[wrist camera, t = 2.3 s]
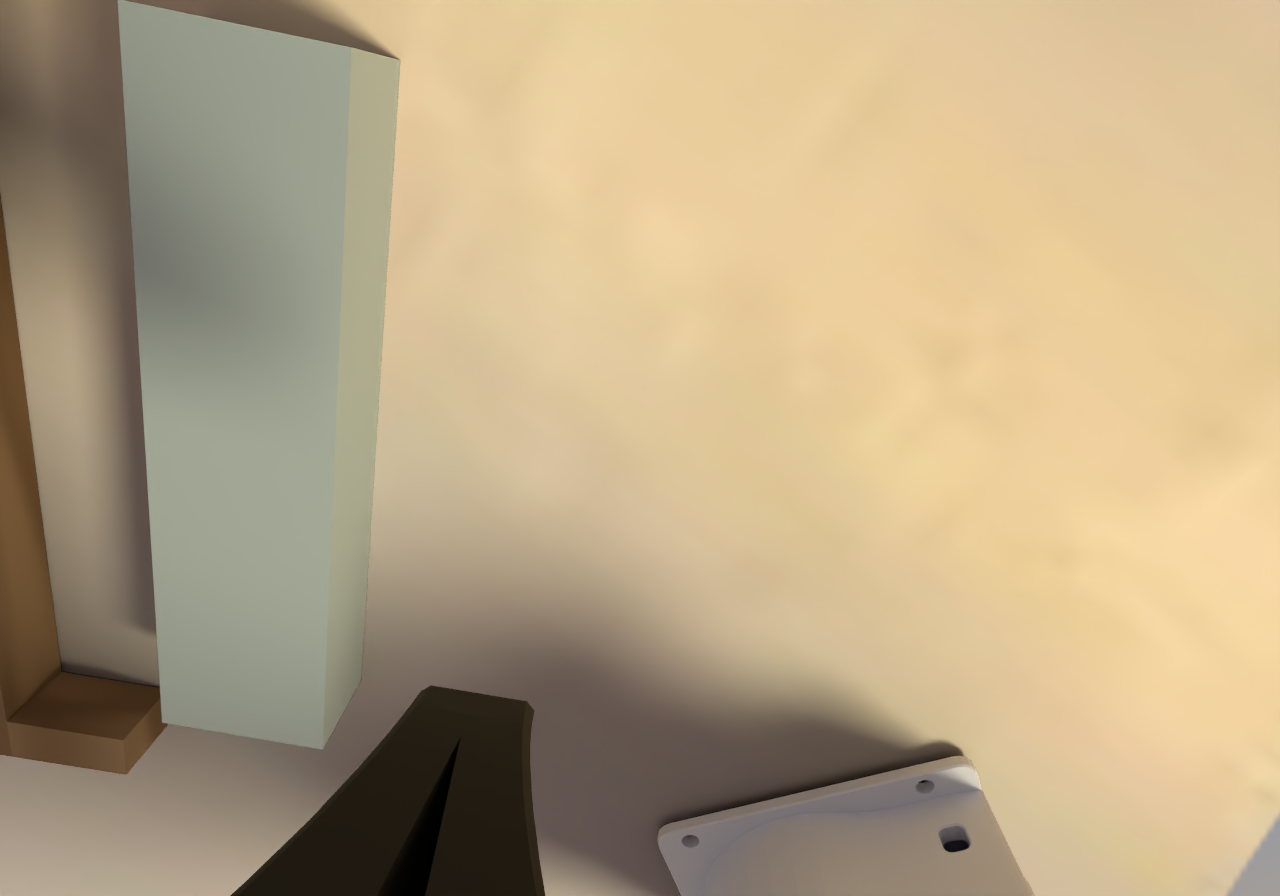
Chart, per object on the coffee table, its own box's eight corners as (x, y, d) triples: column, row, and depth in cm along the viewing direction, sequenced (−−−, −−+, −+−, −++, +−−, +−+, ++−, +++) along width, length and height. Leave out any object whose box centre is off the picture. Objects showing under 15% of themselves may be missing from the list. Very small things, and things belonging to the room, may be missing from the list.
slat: (406, 61, 16) (351, 47, 13) (365, 672, 22) (322, 749, 19) (212, 21, 16) (117, -2, 13) (225, 648, 22) (162, 722, 19)
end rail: (113, -163, 14) (33, -205, 13) (169, 721, 23) (126, 774, 21) (-162, -221, 14) (-285, -273, 12) (-5, 693, 22) (-64, 744, 21)
